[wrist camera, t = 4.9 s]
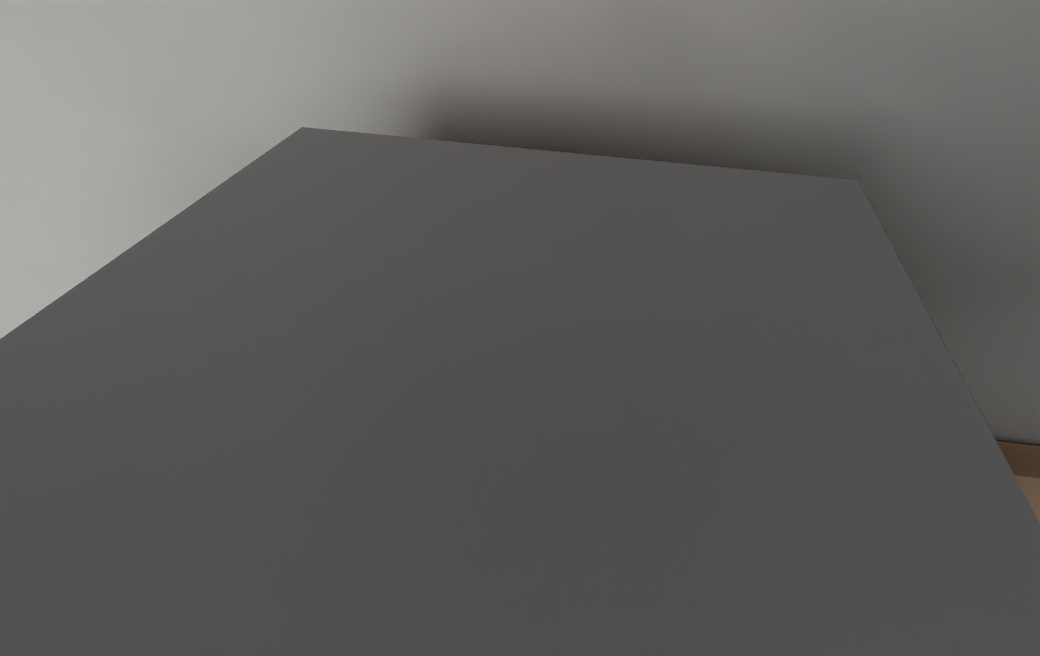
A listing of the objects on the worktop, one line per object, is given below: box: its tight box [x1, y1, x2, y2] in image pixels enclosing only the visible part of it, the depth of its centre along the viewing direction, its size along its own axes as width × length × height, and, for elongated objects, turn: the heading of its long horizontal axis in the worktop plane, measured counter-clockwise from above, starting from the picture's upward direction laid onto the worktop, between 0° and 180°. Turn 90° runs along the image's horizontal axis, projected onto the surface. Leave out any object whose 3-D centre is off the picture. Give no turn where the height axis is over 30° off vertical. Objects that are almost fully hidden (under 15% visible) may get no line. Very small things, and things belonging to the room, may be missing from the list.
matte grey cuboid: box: [0, 127, 1040, 656], centre depth 8 cm, size 7×7×8 cm
